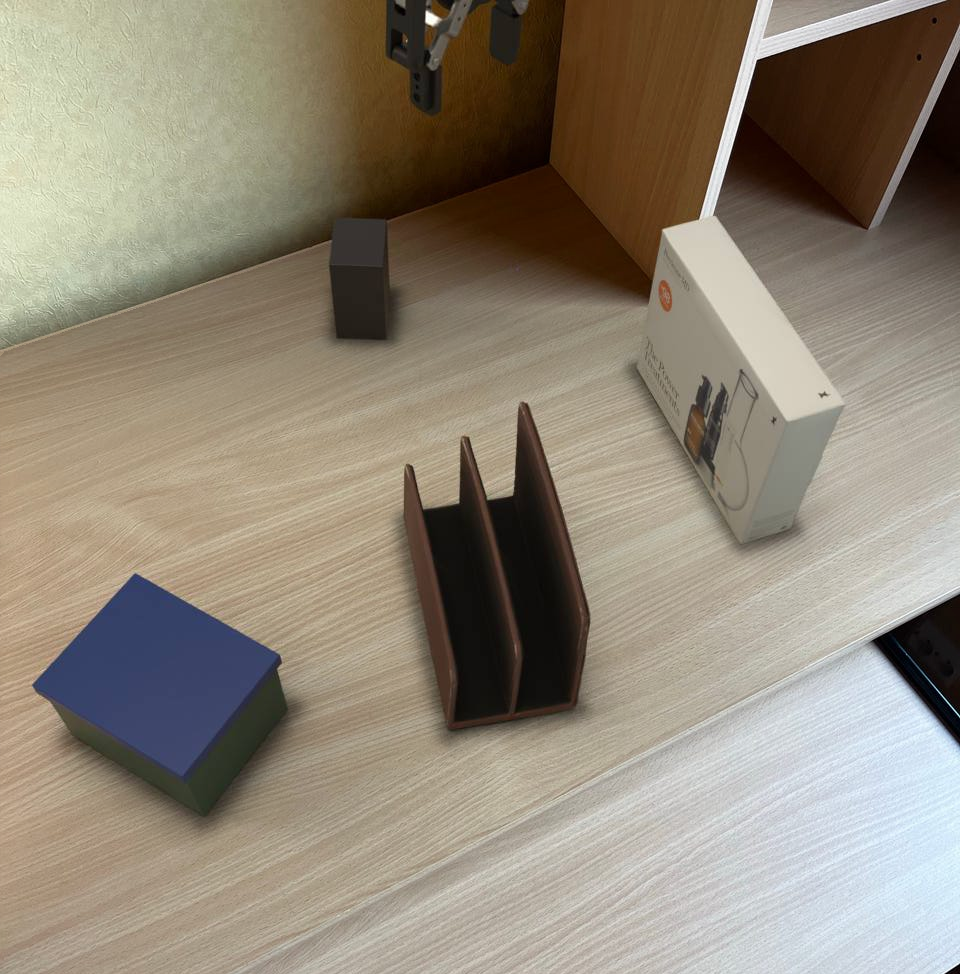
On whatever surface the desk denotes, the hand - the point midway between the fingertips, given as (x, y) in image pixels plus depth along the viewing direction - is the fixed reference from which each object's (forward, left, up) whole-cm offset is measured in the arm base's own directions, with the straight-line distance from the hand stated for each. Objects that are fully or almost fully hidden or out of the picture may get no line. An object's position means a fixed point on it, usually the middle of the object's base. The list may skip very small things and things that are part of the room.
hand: (465, 84), depth 81 cm
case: (-8, -4, -24) cm, 26 cm away
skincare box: (+26, -1, -24) cm, 35 cm away
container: (+4, -46, -24) cm, 52 cm away
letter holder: (+18, -25, -24) cm, 39 cm away
